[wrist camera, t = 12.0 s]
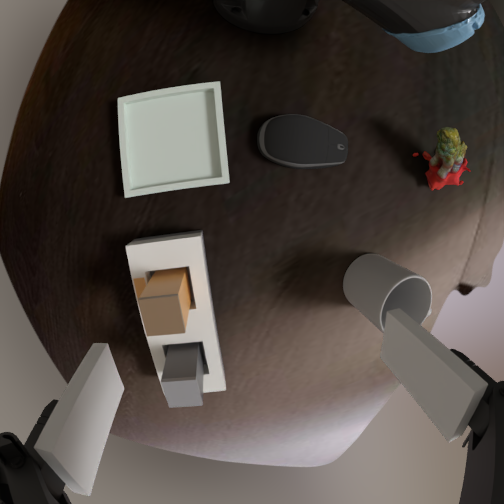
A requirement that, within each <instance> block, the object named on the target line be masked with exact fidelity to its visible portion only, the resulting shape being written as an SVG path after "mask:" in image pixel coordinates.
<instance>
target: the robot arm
mask: <svg viewBox="0 0 504 504" xmlns="http://www.w3.org/2000/svg"><path fill="white" fill-rule="evenodd" d="M318 1H319V0H213V3H214V6H215V8H216V10H217V11H218V12H219V14H220V15H221V16H222V17H223V18H224V19H226V20H227V21H228V22H230V23H232V24H233V25H235V26H237V27H239V28H242V29H245V30H248V31H251V32H256V33H263V34H280V33H286V32H290V31H293V30H296V29H298V28H300V27H302V26H303V25H305V24H306V23H307V22H308V21H309V20H310V18H311V17H312V15H313V14H314V12H315V11H316V9H317V6H318ZM342 1H344V2H345V3H347V4H349V5H350V6H352V7H353V8H355V9H356V10H358V11H359V12H361V13H362V14H364V15H365V16H366V17H368V18H369V19H371V20H372V21H373V22H375V23H376V24H378V25H379V26H380V27H382V28H383V30H384V31H385V32H386V33H388V34H390V35H392V36H394V37H396V38H397V39H398V40H400V41H401V42H402V43H404V44H405V45H406V46H408V47H409V48H411V49H412V50H415V51H418V52H424V53H434V52H439V51H443V50H446V49H449V48H452V47H454V46H456V45H458V44H460V43H462V42H463V41H465V40H467V39H468V38H469V37H471V36H472V35H473V34H474V30H475V29H478V28H480V26H481V25H482V23H483V21H484V16H485V15H484V11H483V9H482V6H481V4H480V3H482V2H483V1H485V0H342ZM380 358H381V359H382V360H383V361H384V363H385V364H386V365H387V366H388V368H389V369H390V370H391V371H392V372H393V374H394V375H395V376H396V377H397V378H398V380H399V381H400V382H401V383H402V385H403V386H404V387H405V388H406V389H407V391H408V392H409V393H410V394H411V396H412V397H413V398H414V399H415V400H416V402H417V403H418V404H419V406H420V407H421V408H422V409H423V411H424V412H425V413H426V414H427V416H428V417H429V418H430V419H431V421H432V422H433V423H434V425H435V426H436V427H437V428H438V430H439V431H440V432H441V434H442V435H443V436H444V437H445V439H446V440H447V441H448V443H449V442H451V441H453V440H454V439H456V438H458V437H460V436H461V435H462V434H463V433H464V431H465V429H466V428H467V426H468V425H469V426H470V427H471V429H472V430H471V431H470V433H469V435H468V436H467V438H466V440H465V441H464V443H463V446H462V447H465V445H466V444H467V442H468V441H469V443H468V452H467V462H466V468H465V475H464V482H463V487H462V492H461V497H460V502H459V504H504V381H500V382H498V383H497V382H495V381H494V380H493V379H492V378H491V377H490V376H489V375H487V374H486V373H485V372H484V371H483V370H482V369H480V368H479V367H478V366H476V365H475V363H474V362H472V361H470V359H469V358H468V357H466V356H465V355H464V354H463V353H461V352H459V351H457V350H455V349H450V350H449V349H448V348H447V347H446V346H445V345H443V344H442V343H441V342H440V341H439V340H438V339H436V338H435V337H434V336H433V335H432V334H430V333H429V332H428V331H427V330H426V329H424V328H423V327H422V326H421V325H420V324H418V323H417V322H416V321H415V320H413V319H412V318H411V317H410V316H409V315H407V314H406V313H405V312H404V311H402V310H401V309H400V308H398V309H394V310H389V311H387V314H386V322H385V329H384V336H383V342H382V348H381V354H380ZM123 391H124V387H123V384H122V381H121V379H120V376H119V374H118V371H117V368H116V366H115V363H114V360H113V357H112V355H111V352H110V349H109V346H108V343H93V345H92V346H91V348H90V350H89V351H88V353H87V354H86V356H85V358H84V359H83V361H82V362H81V364H80V366H79V367H78V369H77V370H76V372H75V374H74V375H73V377H72V379H71V380H70V382H69V384H68V386H67V387H66V389H65V391H64V392H63V394H62V396H61V398H60V399H59V400H53V401H51V402H50V403H49V404H48V405H47V406H46V407H45V409H44V410H43V412H42V414H41V417H39V419H38V421H37V424H35V426H34V428H33V430H32V431H31V433H30V435H29V437H28V439H27V441H26V443H25V445H23V444H22V443H21V441H20V440H19V439H18V438H17V436H16V435H14V434H13V433H10V432H4V433H1V434H0V504H71V502H70V500H69V498H68V496H67V494H66V493H65V492H64V491H63V489H64V486H65V484H66V485H67V486H68V487H69V489H71V491H72V492H75V493H79V494H83V495H87V496H90V494H91V491H92V487H93V483H94V480H95V476H96V473H97V469H98V466H99V463H100V459H101V456H102V453H103V450H104V446H105V443H106V440H107V437H108V434H109V431H110V428H111V425H112V422H113V419H114V416H115V413H116V410H117V408H118V405H119V402H120V399H121V396H122V393H123Z"/></svg>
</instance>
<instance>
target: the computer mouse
mask: <svg viewBox="0 0 504 504" xmlns="http://www.w3.org/2000/svg"><path fill="white" fill-rule="evenodd" d="M257 146H258V149H259V151H260V152H261V154H262V155H263V156H264V157H265V158H267V159H268V160H270V161H272V162H274V163H276V164H279V165H281V166H285V167H289V168H295V169H316V168H327V167H332V166H337V165H340V164H342V163H343V162H344V161H345V160H346V158H347V153H348V141H347V137H346V136H345V135H344V134H343V133H342V132H340V131H338V130H337V129H335V128H333V127H331V126H329V125H327V124H325V123H323V122H320V121H318V120H316V119H313V118H311V117H308V116H304V115H298V114H286V115H280V116H276V117H273V118H271V119H269V120H267V121H266V122H264V123H263V124H262V126H261V127H260V128H259V131H258V134H257Z"/></svg>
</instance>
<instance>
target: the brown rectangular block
mask: <svg viewBox="0 0 504 504" xmlns="http://www.w3.org/2000/svg"><path fill="white" fill-rule="evenodd" d="M191 297H192V296H191V291H190V285H189V279H188V273H187V267H183V268H175V269H167V270H158V271H155V273H154V274H153V276H152V277H151V279H150V281H149V282H148V284H147V285H146V287H145V289H144V290H143V292H142V294H141V295H140V297H139V299H138V304H139V308H140V312H141V316H142V320H143V324H144V328H145V331H146V335H147V336H159V335H171V334H182V333H185V332H186V326H187V320H188V314H189V308H190V303H191Z"/></svg>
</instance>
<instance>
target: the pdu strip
mask: <svg viewBox="0 0 504 504" xmlns="http://www.w3.org/2000/svg"><path fill="white" fill-rule="evenodd" d="M126 252H127V257H128V262H129V267H130V272H131V277H132V282H133V286H134V291H135V295H136V299H137V303H138V299H139V297H140V295H141V294H142V292H143V290H144V289H145V287H146V285H147V284H148V282H149V281H150V279H151V277H152V276H153V274H154V273H155V271H158V270H167V269H175V268H183V267H187V273H188V279H189V285H190V291H191V296H192V297H191V303H190V308H189V314H188V320H187V326H186V332H185V333H182V334H171V335H159V336H147V335H146V338H147V341H148V345H149V348H150V351H151V355H152V358H153V361H154V365H155V368H156V371H157V374H158V377H159V380H160V383H161V378H162V374H163V369H164V365H165V360H166V356H167V352H168V348H169V344H179V343H190V342H200V345H201V349H202V354H203V359H204V374H203V393H204V392H215V391H224V390H226V382H225V371H224V366H223V360H222V355H221V349H220V343H219V338H218V332H217V326H216V320H215V314H214V308H213V301H212V295H211V288H210V282H209V275H208V268H207V261H206V254H205V246H204V239H203V231H202V230H197V231H189V232H182V233H174V234H167V235H159V236H152V237H145V238H138V239H134V240H133V241H132V242H130V243H129V244H128V245H126ZM138 307H139V304H138ZM139 311H140V308H139ZM140 315H141V312H140ZM141 319H142V316H141ZM142 323H143V320H142ZM143 327H144V324H143ZM144 330H145V328H144ZM145 334H146V331H145ZM161 386H162V385H161ZM162 389H163V388H162ZM163 392H164V391H163ZM164 395H165V394H164Z"/></svg>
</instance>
